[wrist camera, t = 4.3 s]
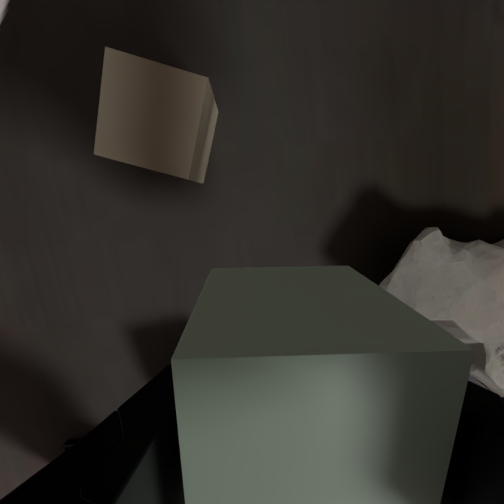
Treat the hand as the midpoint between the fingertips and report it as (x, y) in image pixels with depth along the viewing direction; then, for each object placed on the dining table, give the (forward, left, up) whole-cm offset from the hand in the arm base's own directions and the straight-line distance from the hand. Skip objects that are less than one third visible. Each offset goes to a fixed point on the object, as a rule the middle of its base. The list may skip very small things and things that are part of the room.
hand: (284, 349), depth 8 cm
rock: (+19, -3, -12) cm, 23 cm away
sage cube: (0, 0, -1) cm, 1 cm away
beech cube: (-6, +9, -12) cm, 16 cm away
